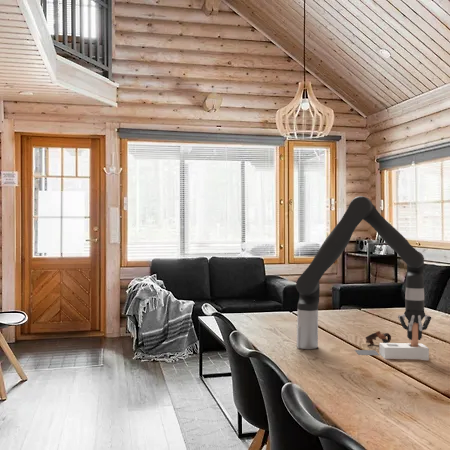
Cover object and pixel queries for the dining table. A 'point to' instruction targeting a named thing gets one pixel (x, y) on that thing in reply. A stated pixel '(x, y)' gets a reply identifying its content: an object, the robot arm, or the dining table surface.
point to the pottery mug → (382, 336)
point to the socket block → (403, 351)
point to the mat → (366, 352)
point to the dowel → (414, 335)
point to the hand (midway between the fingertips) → (414, 339)
